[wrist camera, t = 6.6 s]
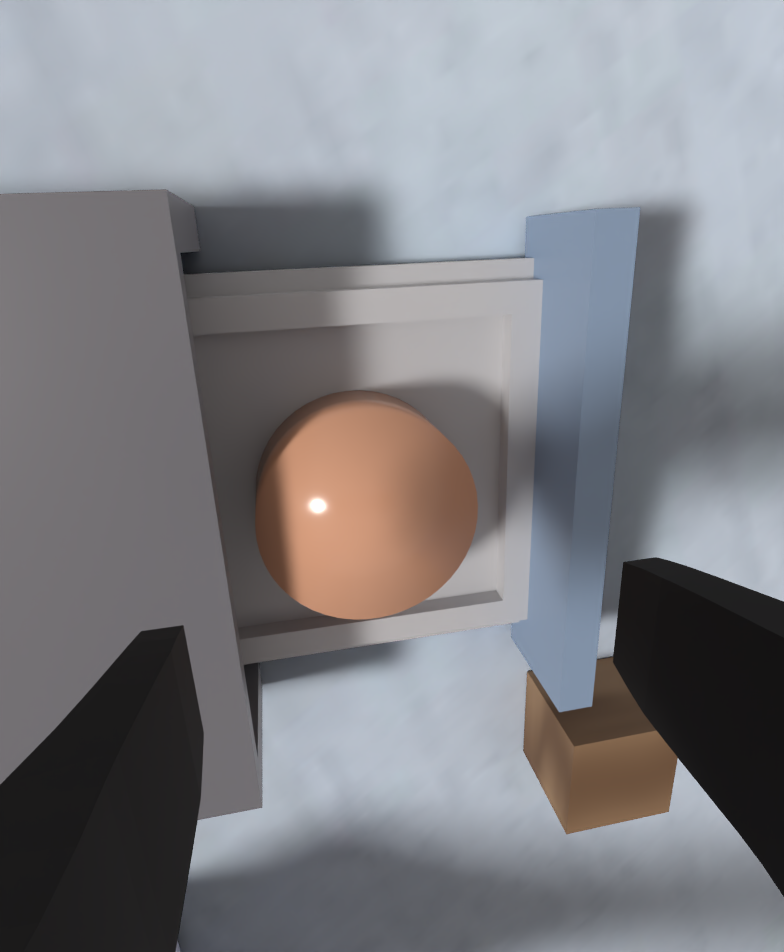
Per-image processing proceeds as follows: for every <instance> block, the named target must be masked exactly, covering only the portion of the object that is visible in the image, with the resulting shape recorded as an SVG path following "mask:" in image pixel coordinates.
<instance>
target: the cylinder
mask: <svg viewBox="0 0 784 952" xmlns="http://www.w3.org/2000/svg"><path fill="white" fill-rule="evenodd" d="M477 518H478V500H477V491H476V487H475V483H474V479H473V477H472V474H471V472H470V469H469V467H468V465H467V463H466V462H465V460H464V458H463V456H462V455H461V454H460V452H459V451H458V450H457V449H456V447H455V446H454V445H453V444H452V443H451V442H450V441H449V440H448V439H447V438H446V437H445V436H444V435H443V434H442V433H441V432H440V431H439V430H438V429H437V428H436V427H435V426H434V425H433V424H432V423H431V422H430V421H429V420H428V419H427V418H426V417H425V416H424V415H423V414H421V413H420V412H419V411H418V410H417V409H415V408H414V407H412V406H411V405H410V404H408V403H406V402H404V401H402V400H400V399H398V398H396V397H393V396H390V395H387V394H384V393H379V392H374V391H364V390H354V391H343V392H337V393H332V394H329V395H326V396H323V397H320V398H318V399H316V400H313V401H311V402H309V403H307V404H306V405H304V406H302V407H301V408H299V409H298V410H296V411H295V412H294V413H293V414H291V415H290V416H289V417H288V418H287V419H285V420H284V422H283V423H282V424H281V425H280V426H279V427H278V428H277V429H276V431H275V432H274V434H273V435H272V436H271V438H270V439H269V441H268V443H267V445H266V447H265V449H264V451H263V453H262V456H261V459H260V462H259V466H258V471H257V476H256V503H255V530H256V540H257V544H258V548H259V552H260V555H261V557H262V560H263V562H264V564H265V566H266V568H267V570H268V571H269V573H270V575H271V576H272V578H273V579H274V580H275V582H276V583H277V584H278V585H279V586H280V588H282V589H283V590H284V591H285V592H286V593H287V594H288V595H289V596H290V597H292V598H293V599H294V600H296V601H297V602H299V603H300V604H302V605H304V606H306V607H308V608H309V609H311V610H313V611H316V612H319V613H322V614H324V615H328V616H332V617H337V618H343V619H373V618H381V617H385V616H389V615H393V614H396V613H399V612H401V611H404V610H407V609H409V608H411V607H413V606H415V605H417V604H419V603H421V602H422V601H424V600H425V599H427V598H428V597H430V596H431V595H433V594H434V593H435V592H436V591H438V590H439V589H440V588H441V587H442V586H443V585H444V584H445V583H446V582H447V581H448V580H449V579H450V578H451V577H452V576H453V574H454V573H455V572H456V570H457V569H458V568H459V566H460V565H461V563H462V561H463V560H464V558H465V557H466V555H467V552H468V550H469V548H470V546H471V543H472V540H473V537H474V534H475V530H476V524H477Z"/></svg>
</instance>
